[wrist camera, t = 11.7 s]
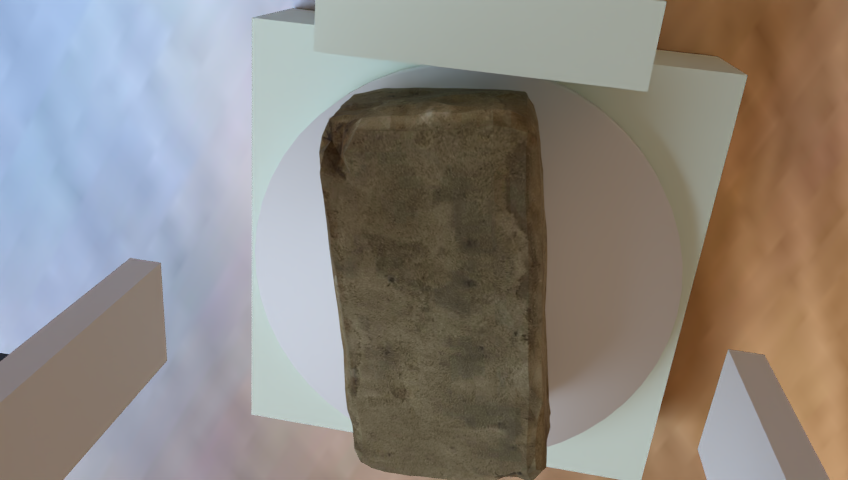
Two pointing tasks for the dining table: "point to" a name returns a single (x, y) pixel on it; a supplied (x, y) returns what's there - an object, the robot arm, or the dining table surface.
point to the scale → (563, 193)
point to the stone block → (440, 279)
